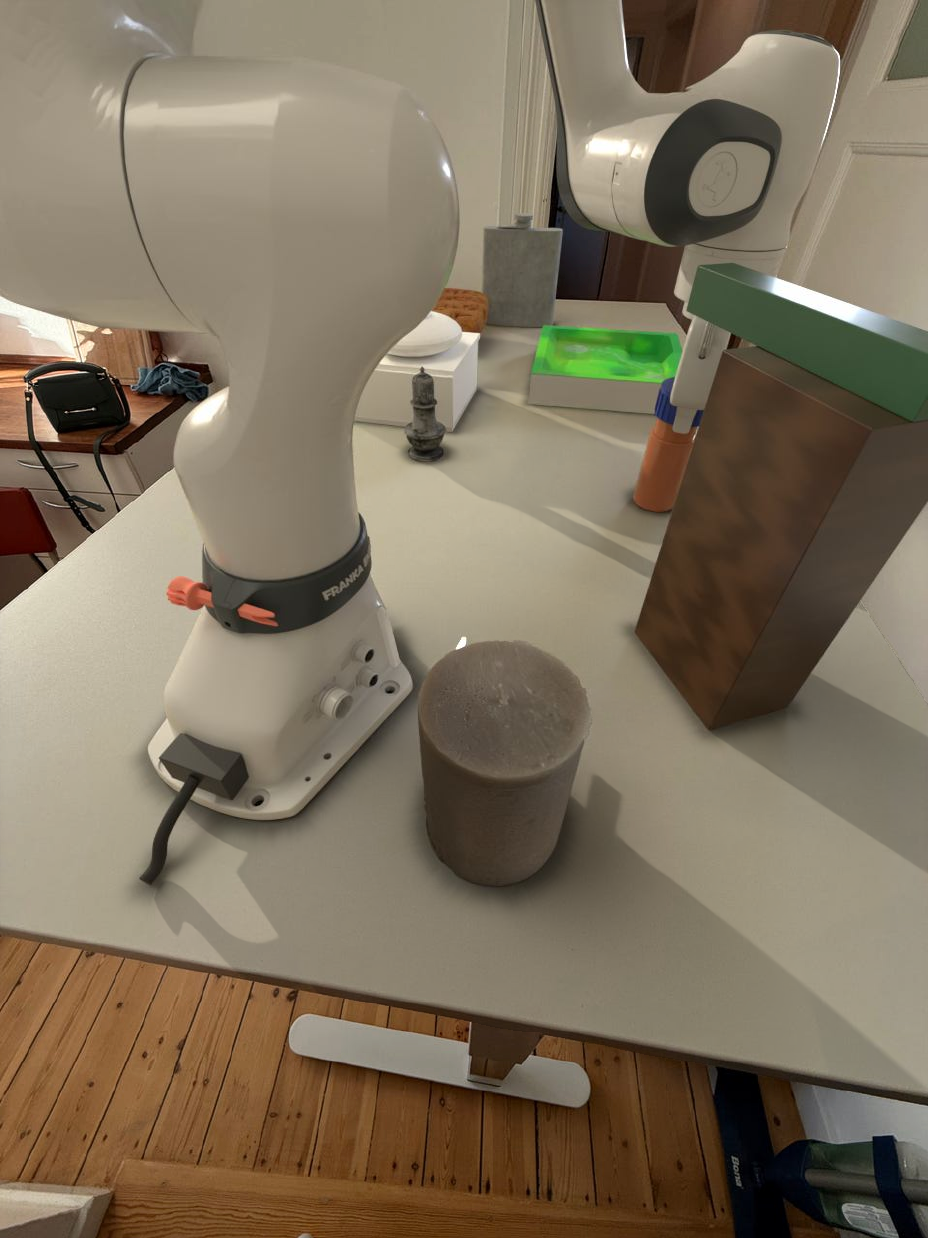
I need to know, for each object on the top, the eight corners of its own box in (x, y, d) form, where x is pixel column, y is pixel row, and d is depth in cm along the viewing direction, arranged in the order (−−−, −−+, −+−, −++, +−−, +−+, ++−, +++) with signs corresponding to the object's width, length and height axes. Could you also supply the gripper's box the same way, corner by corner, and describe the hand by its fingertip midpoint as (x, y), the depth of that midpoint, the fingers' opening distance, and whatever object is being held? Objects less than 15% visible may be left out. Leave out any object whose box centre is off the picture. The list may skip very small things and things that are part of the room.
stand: (633, 632, 54) (722, 349, 36) (704, 615, 56) (822, 337, 38) (708, 731, 46) (872, 428, 28) (788, 707, 47) (991, 409, 29)
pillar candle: (411, 872, 37) (392, 748, 27) (441, 749, 44) (436, 612, 34) (556, 900, 36) (595, 782, 26) (564, 769, 43) (598, 634, 33)
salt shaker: (441, 464, 77) (439, 376, 69) (400, 460, 78) (393, 372, 70) (450, 445, 81) (449, 360, 73) (411, 441, 82) (406, 356, 74)
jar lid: (721, 419, 62) (731, 390, 60) (684, 432, 60) (693, 402, 58) (679, 400, 66) (686, 372, 64) (642, 412, 64) (649, 383, 61)
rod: (685, 311, 42) (697, 264, 40) (719, 307, 42) (732, 262, 40) (912, 422, 28) (948, 361, 26) (956, 415, 29) (996, 354, 27)
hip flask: (552, 322, 124) (564, 212, 110) (552, 328, 121) (564, 216, 107) (481, 319, 125) (484, 210, 111) (479, 325, 122) (482, 213, 108)
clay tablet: (417, 322, 123) (415, 281, 118) (493, 327, 121) (494, 285, 115) (389, 356, 108) (385, 311, 102) (476, 363, 105) (477, 317, 100)
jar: (676, 514, 69) (708, 421, 60) (633, 509, 69) (660, 416, 61) (671, 491, 72) (701, 401, 64) (631, 487, 73) (655, 397, 65)
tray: (528, 403, 92) (531, 372, 89) (540, 352, 110) (543, 324, 106) (683, 416, 89) (692, 384, 86) (670, 361, 107) (677, 333, 103)
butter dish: (345, 419, 87) (328, 307, 76) (383, 377, 100) (374, 276, 89) (452, 432, 84) (452, 317, 73) (478, 387, 97) (481, 284, 86)
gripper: (757, 309, 46) (705, 463, 55) (762, 259, 59) (720, 390, 69) (678, 300, 47) (641, 451, 57) (701, 254, 61) (668, 382, 71)
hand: (684, 417), depth 63 cm, fingers closed on jar lid, 6 cm apart
